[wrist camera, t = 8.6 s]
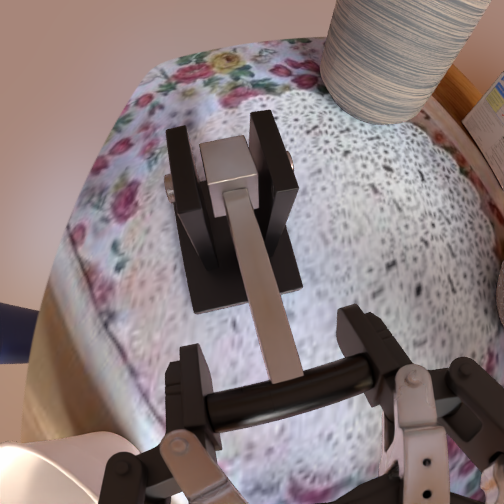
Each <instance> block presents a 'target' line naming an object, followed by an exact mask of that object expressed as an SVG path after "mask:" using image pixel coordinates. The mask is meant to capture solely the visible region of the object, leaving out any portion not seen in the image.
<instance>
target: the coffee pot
mask: <svg viewBox="0 0 504 504" xmlns="http://www.w3.org/2000/svg"><path fill="white" fill-rule="evenodd" d="M496 305H497V310H498V315H499V317H500V320H501V323H502V324H503V327H504V260H503V262H502V265H501V269H500V274H499V277H498V282H497V288H496Z"/></svg>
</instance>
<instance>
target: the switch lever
mask: <svg viewBox="0 0 504 504" xmlns="http://www.w3.org/2000/svg"><path fill="white" fill-rule="evenodd" d="M199 147H200V152H201V157H202V162H203V167H204V172H205V176H206V181H207V186H208V191H209V196H210V200H211V205H212V210H213V214H214V217H215V218H216V217H220V216H225V215H226V216H227V220H228V224H229V228H230V232H231V236H232V240H233V244H234V248H235V252H236V256H237V259H238V263H239V267H240V271H241V275H242V279H243V283H244V287H245V291H246V295H247V298H248V302H249V306H250V310H251V314H252V318H253V321H254V325H255V329H256V333H257V337H258V340H259V344H260V348H261V352H262V355H263V359H264V363H265V367H266V370H267V374H268V378H269V380H268V381H264V382H260V383H256V384H251V385H247V386H243V387H238V388H234V389H229V390H224V391H219V392H214V393H209V394H207V395H206V399H205V400H206V409H207V414H208V418H209V421H210V424H211V427H212V429H213V430H214V432H215V433H223V432H228V431H233V430H238V429H243V428H248V427H252V426H257V425H261V424H265V423H269V422H273V421H277V420H281V419H285V418H288V417H292V416H295V415H299V414H302V413H306V412H309V411H312V410H315V409H319V408H322V407H325V406H328V405H331V404H334V403H337V402H340V401H342V400H345V399H348V398H351V397H354V396H356V395H359V394H362V393H364V392H367V391H369V390H371V389H372V388H373V386H374V376H373V371H372V368H371V365H370V363H369V361H368V359H367V358H366V356H365V355H364V354H362V353H357V354H354V355H351V356H349V357H346V358H343V359H340V360H337V361H334V362H331V363H327V364H324V365H321V366H318V367H315V368H311V369H308V370H304V371H303V369H302V365H301V362H300V359H299V355H298V352H297V349H296V345H295V342H294V339H293V335H292V332H291V329H290V325H289V322H288V319H287V315H286V312H285V309H284V306H283V302H282V299H281V296H280V293H279V289H278V286H277V283H276V280H275V276H274V273H273V270H272V267H271V263H270V260H269V257H268V254H267V251H266V247H265V244H264V241H263V238H262V235H261V231H260V228H259V225H258V222H257V219H256V216H255V212H254V209H257V208H259V174H258V171H257V168H256V166H255V163H254V160H253V158H252V155H251V152H250V150H249V147H248V144H247V142H246V139H245V137H244V135H241V136H236V137H230V138H225V139H220V140H215V141H210V142H205V143H201V144H199Z"/></svg>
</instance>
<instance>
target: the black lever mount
mask: <svg viewBox="0 0 504 504" xmlns="http://www.w3.org/2000/svg"><path fill="white" fill-rule="evenodd" d="M166 140H167V148H168V155H169V163H170V170H171V174H168V175H165V176H164V183H165V189H166V193H167V197H168V200H169V202H170V203H173V204H174V210H175V217H176V223H177V229H178V234H179V240H180V246H181V251H182V256H183V262H184V267H185V272H186V277H187V282H188V287H189V292H190V297H191V302H192V306H193V311H194V313H195V314H201V313H206V312H210V311H215V310H219V309H224V308H228V307H232V306H237V305H241V304H245V303H249V302H248V298H247V295H246V291H245V287H244V283H243V279H242V275H241V271H240V267H239V263H238V259H237V256H236V252H235V248H234V244H233V240H232V236H231V232H230V228H229V224H228V220H227V216H226V215H225V216H220V217H216V218H215V217H214V214H213V210H212V205H211V200H210V196H209V191H208V186H207V181H201V182H200V180H199V176H198V172H197V168H196V164H195V160H194V156H193V152H192V147H191V143H190V139H189V135H188V130H187V127H186V125H184V126H180V127H175V128H171V129H167V130H166ZM249 150H250V152H251V155H252V158H253V160H254V163H255V166H256V168H257V171H258V174H259V208H257V209H254V212H255V216H256V219H257V222H258V225H259V228H260V231H261V235H262V238H263V241H264V244H265V247H266V251H267V254H268V257H269V260H270V263H271V267H272V270H273V273H274V276H275V280H276V283H277V286H278V289H279V293H280V295H282V294H286V293H290V292H294V291H298V290H300V289H302V288H303V285H302V281H301V277H300V274H299V270H298V267H297V263H296V259H295V256H294V252H293V249H292V245H291V242H290V239H289V235H288V232H287V228H286V225H285V224H286V221H287V219H288V216H289V213H290V211H291V208H292V206H293V203H294V200H295V198H296V195H297V192H298V190H299V186H298V183H297V180H296V178H295V175H294V166H293V161H292V158H291V155H290V153H289V152H288V151H286V149H285V147H284V144H283V141H282V138H281V136H280V133H279V130H278V128H277V125H276V122H275V120H274V117H273V114H272V112H271V110H264V111H257V112H251V113H250V131H249Z"/></svg>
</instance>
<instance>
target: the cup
mask: <svg viewBox="0 0 504 504" xmlns="http://www.w3.org/2000/svg"><path fill="white" fill-rule="evenodd" d="M118 452H130V453H132V454H134V455H135V456H136V455H138V454H141V453H140V452H139V450H138V449H137V448H136V447H135V446H134V445H133V444H132V443H130V442H129V441H128V440H126V439H125V438H123V437H122V436H119V435H117V434H115V433H111V432H106V431H99V432H92V433H88V434H83V435H78V436H73V437H66V438H61V439H54V440H49V441H40V442H32V443H19V442H9V441H6V442H2V443H0V504H98V501H99V496H100V491H101V486H102V481H103V477H104V472H105V467H106V464H107V461H108V460H109V458H110V457H111V456H112V455H114V454H116V453H118Z"/></svg>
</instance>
